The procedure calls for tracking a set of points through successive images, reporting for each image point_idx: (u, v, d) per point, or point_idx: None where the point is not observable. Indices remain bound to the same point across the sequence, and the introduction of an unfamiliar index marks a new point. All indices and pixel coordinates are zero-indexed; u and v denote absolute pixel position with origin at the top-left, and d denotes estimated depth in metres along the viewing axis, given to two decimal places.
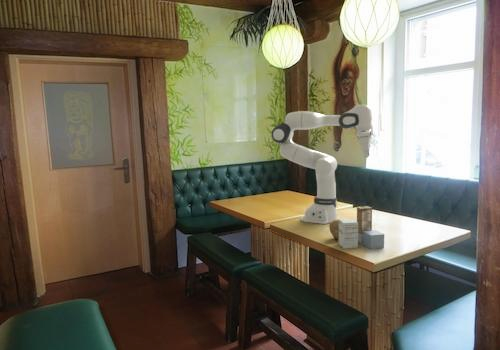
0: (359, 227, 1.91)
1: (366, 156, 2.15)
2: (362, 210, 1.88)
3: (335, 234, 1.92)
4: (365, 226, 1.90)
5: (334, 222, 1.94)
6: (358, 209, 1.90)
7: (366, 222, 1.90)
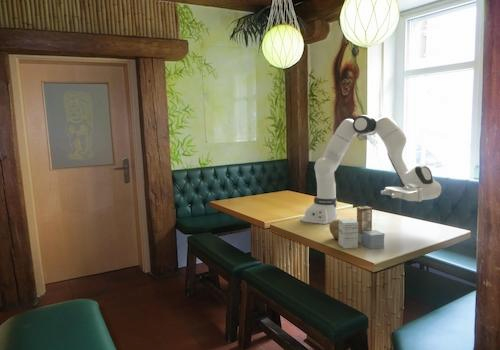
0: (359, 227, 1.91)
1: (394, 196, 1.87)
2: (362, 210, 1.88)
3: (335, 234, 1.92)
4: (365, 226, 1.90)
5: (334, 222, 1.94)
6: (358, 209, 1.90)
7: (366, 222, 1.90)
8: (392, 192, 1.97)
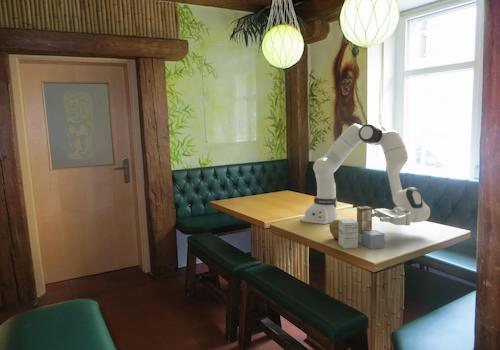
0: (359, 227, 1.91)
1: (383, 220, 1.88)
2: (362, 210, 1.88)
3: (335, 234, 1.92)
4: (365, 226, 1.90)
5: (334, 222, 1.94)
6: (358, 209, 1.90)
7: (366, 222, 1.90)
8: (381, 215, 1.97)
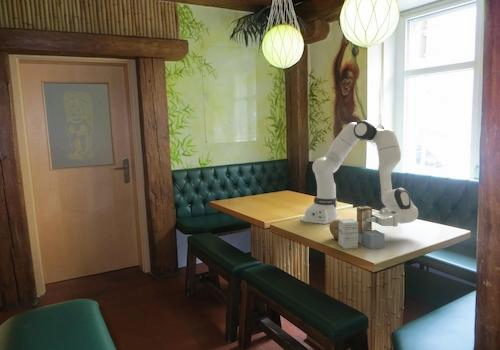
0: (359, 227, 1.91)
1: (367, 220, 1.88)
2: (362, 210, 1.88)
3: (335, 234, 1.92)
4: (365, 226, 1.90)
5: (334, 222, 1.94)
6: (358, 209, 1.90)
7: (366, 222, 1.90)
8: None
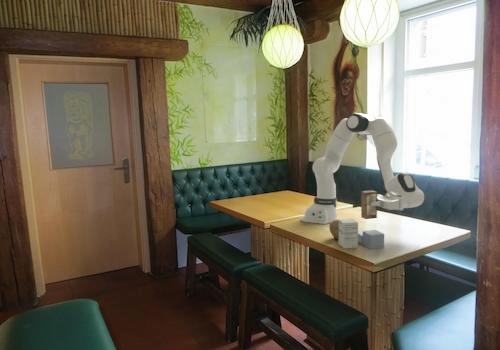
0: (363, 212, 1.86)
1: (372, 204, 1.83)
2: (367, 194, 1.83)
3: (335, 234, 1.92)
4: (370, 210, 1.85)
5: (334, 222, 1.94)
6: (363, 193, 1.86)
7: (371, 206, 1.85)
8: None
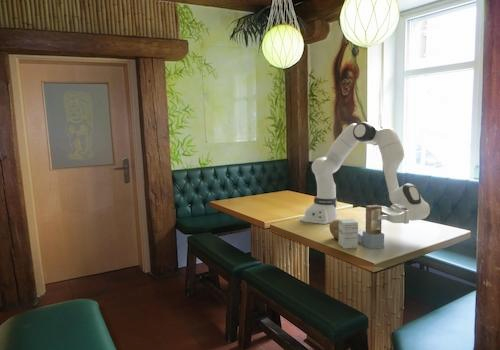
0: (368, 226, 1.82)
1: (379, 218, 1.77)
2: (371, 209, 1.80)
3: (335, 234, 1.92)
4: (375, 225, 1.81)
5: (334, 222, 1.94)
6: (367, 208, 1.82)
7: (376, 221, 1.81)
8: None
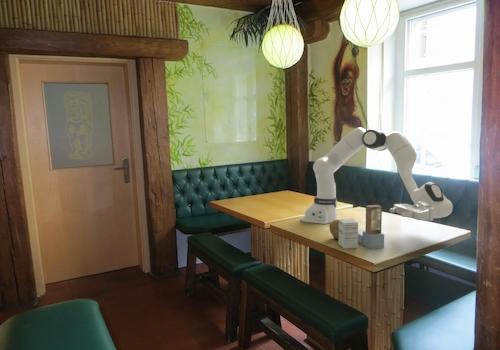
0: (368, 226, 1.82)
1: (404, 215, 1.80)
2: (371, 209, 1.80)
3: (335, 234, 1.92)
4: (375, 225, 1.81)
5: (334, 222, 1.94)
6: (367, 208, 1.82)
7: (376, 221, 1.81)
8: (402, 210, 1.89)
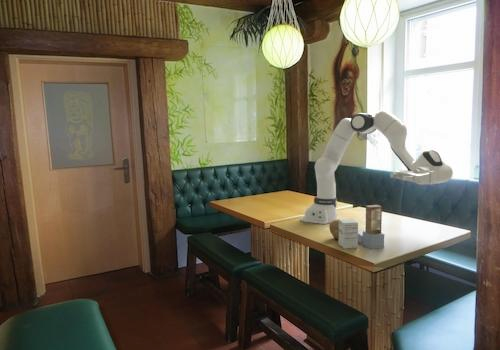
0: (368, 226, 1.82)
1: (405, 179, 1.82)
2: (371, 209, 1.80)
3: (335, 234, 1.92)
4: (375, 225, 1.81)
5: (334, 222, 1.94)
6: (367, 208, 1.82)
7: (376, 221, 1.81)
8: (402, 175, 1.91)
